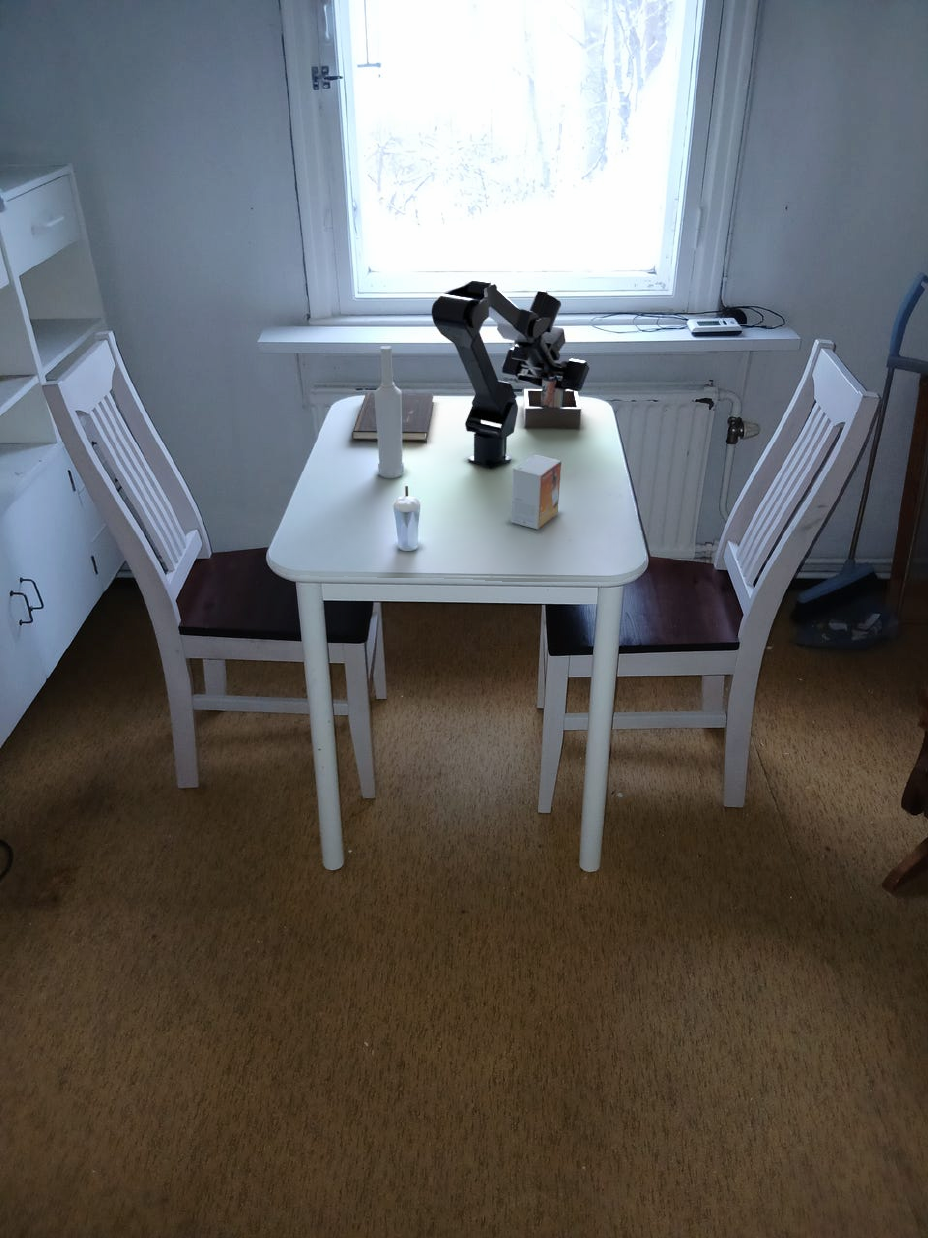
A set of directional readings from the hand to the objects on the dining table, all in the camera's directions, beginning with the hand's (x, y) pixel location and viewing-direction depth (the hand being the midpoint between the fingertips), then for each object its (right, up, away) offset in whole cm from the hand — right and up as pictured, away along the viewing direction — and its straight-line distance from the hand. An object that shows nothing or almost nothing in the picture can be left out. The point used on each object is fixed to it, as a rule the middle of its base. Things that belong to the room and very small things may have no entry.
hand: (555, 387), depth 204 cm
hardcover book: (-36, -7, +1) cm, 37 cm away
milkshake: (-30, -39, -47) cm, 68 cm away
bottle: (-35, -23, -22) cm, 47 cm away
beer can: (-1, -6, +3) cm, 7 cm away
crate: (-1, -6, +3) cm, 7 cm away
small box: (-8, -33, -38) cm, 51 cm away
